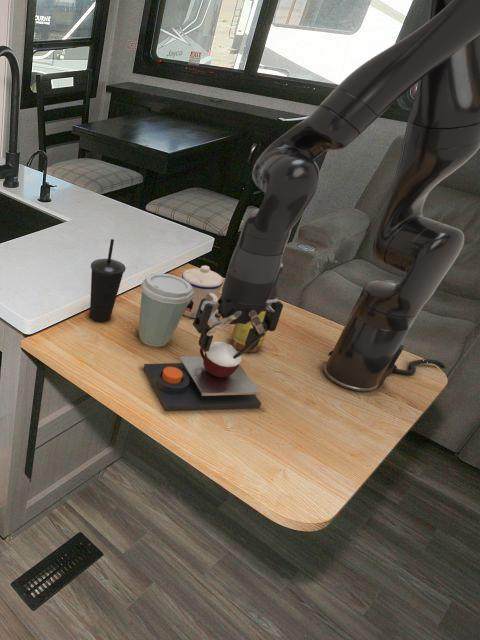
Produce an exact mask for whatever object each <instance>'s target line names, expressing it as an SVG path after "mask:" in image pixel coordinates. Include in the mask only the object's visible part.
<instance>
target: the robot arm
mask: <svg viewBox="0 0 480 640" xmlns="http://www.w3.org/2000/svg"><path fill="white" fill-rule="evenodd" d="M415 85H416V89H415V94H414V97H413V101H412V105H411V108H410V111H409V115H408V119H407V124H406V127H405V132H404V135H403V141H402V146H401V151H400V156H399V160H398V161H399V162H398V165H397V168H396V171H395V176H394V180H393V184H392V187H391V190H390V193H389V196H388V199H387V201H386V205H385V207H384V211H383V213H382V215H381V218H380V220H379V223H378V226H377V229H376V232H375V235H374V238H373V242H372V255H373V256H374V259H376V260H377V261H378V262H379V263H382V264H384V265H386V266H388V267H390V268H393V269H395V270H397V271H400V272H402V273H404V274H405V275H403V278H402V280H401V281H400V280H392V279H391V280H390V279H378V280H372V281H370V282H367V283H366V284H365V285H364V287H363V288H362V290H361V292H360V294H359V296H358V298H357V300H356V302H355V304H354V307H353V308H352V311H351V313H350V314H349V316H348V319H347V320H346V323H345V324H344V327H343V329H342V331H341V333H340V335H339V337H338V339H337V341H336V343H335V345H334V347H333V349H332V350H330V351H329V353H328V355H327V357H328V360H327V362H326V363H325V365H324V366H323V373H324V375H325V376H326V377H327V379H329V380H330V381H331V382H333V383H335V384H336V385H338V386H340V387H342V388H345V389H348V390H350V391H354V392H355V391H357V392H365V393H366V392H372V391H374V390H376V389H377V388H378V387H382V386H383V384H384V383H385V381H386V380H387V378H388V377H390V376H391V374H392V372H393V373H396V374H399V375H413V374H415V373H416V371H417V369H416V367H415V366H416V365H423V364H431V365H436V366H438V367H439V368H441V369H446V368H447V367H446V365H445V363H443V362H442V361H439V360H436V359H430V358H429V359H427V358H424V359H423V358H422V359H416V360H413V361H410V362H409V363H408V368H409V369H400V368H398V366H397V365H396V362H397V361H398V359H399V357H400V355H401V354H402V352H403V351H404V345H403V344H402V343H403V341H404V340H405V338H406V336H407V334H408V333H409V331H410V329H411V327H412V325H413V324H414V322H415V320H416V319H417V317H418V315H419V314H420V312H421V311H422V309H423V307H424V306H425V305H426V304H427V303H428V301H429V300H430V299H431V298H432V296H433V295H434V293H435V292H436V290H437V288H438V287H439V286H440V285H441V282H442V281H443V279H444V277H445V276H446V275H447V273H448V272H449V271H450V270H451V267H452V266H453V264H454V263H455V261H456V260H457V258H458V257H459V255H460V253H461V251H462V249H463V247H464V244H465V235H464V232H463V231H462V230H461V229H459V228H457V227H454V226H451V225H449V224H446V223H443V222H440V221H437V220H435V219H431V218H429V217H426V216H424V215H423V209H424V206H425V202H426V199H427V198H428V195H429V193H430V192H431V191H432V190H433V189H434V188H435V187H436V186H437V185H439V184H440V183H441V182H442V181H443V180H445V179H446V178H447V177H449V176H451V174H453V173H454V172H456V171H457V170H458V169H459V168H461V167H462V166H463V165H464V164H465V163H467V162H468V161H469V160H470V159H471V158H473V156H474V155H475V154H476V153H477V152H478V151H479V149H480V0H430V7H429V16H428V21H427V22H425V23H424V24H423V25H421V26H420V27H419V28H417V29H416V30H414V31H413V32H412V33H410V34H408V35H407V36H405V37H403V38H402V39H401V40H399V41H398V42H396V43H394V44H393V45H390V46H389V47H388V48H386V49H384V50H383V51H381V52H380V53H378V54H376V55H374V56H373V57H372V58H370V59H368V60H367V61H365V62H364V63H362V64H361V65H359V66H358V67H357V68H356V69H354V71H352V72H351V73H350V74H349V75H347V77H345V78H344V80H342V81H341V83H339V84H338V85H337V86H336V87H335V88H334V90H332V91H331V92H330V94H329V95H328V96H327V97H326V98H325V99H324V100H323V101H322V102H321V103H320V104H319V105H318V106H317V107H316V108H315V109H314V111H312V113H311V114H309V116H307V117H306V118H305V119H303V120H301V121H300V122H298V123H297V124H295V125H294V126H292V128H289V130H288V131H286V132H284V134H282V135H280V137H278V138H277V139H275V140H274V141H273V142H272V143H271V144H270V145H268V146H267V147H266V148H265V150H264V151H262V153H261V154H260V155H259V157H258V158H257V160H256V161H255V163H254V164H253V168H252V171H251V173H252V174H251V177H252V181H253V183H254V184H255V186H256V187H257V188H258V189H259V190H260V191H262V192H263V193H264V198H263V200H262V202H261V205H260V206H259V208H256V209H253V210H251V211H250V212H249V213H248V214H247V215H246V217H245V218H244V221H243V224H242V227H241V231H240V234H239V237H238V240H237V243H236V246H235V248H234V250H233V253H232V255H231V258H230V261H229V264H228V268H227V271H226V275H225V278H224V280H223V284H222V286H221V295H220V297H219V298H218V301H208V300H207V299H206V298H204V299H202V300H201V302H200V305H199V308H198V311H197V314H196V316H195V318H193V322H192V326H193V327H194V329H195V331H197V333H198V334H200V336H199V339H198V345H199V347H200V349H201V348H202V350H203V353H206V351H209V348H210V345H211V344H212V343H213V342H212V341H213V339H214V334H216V333H217V332H218V331H219V330H223V329H225V328H226V327H227V326H228V325H235V324H238V323H240V324H247V323H248V322H250V323H251V325H252V327H253V328H250V330H249V333H248V336H247V338H246V341H245V346H246V345H247V344H248V343H249V342H251V341H252V340H253V339H254V338H255V337H256V336H257V335H259V334H261V333H265V332H266V331H267V332H275V331H276V329H277V326H278V323H279V320H280V317H281V314H282V311H283V308H284V304H283V303H282V302H281V300H279V298H278V297H277V298H276V297H271V298H270V299H269V296H270V294H271V291H272V288H273V286H274V283H275V280H276V277H277V274H278V272H279V269H280V266H281V263H282V264H283V257H284V254H285V250H286V247H287V245H288V243H289V242H288V241H289V239H290V237H291V234H292V230H293V228H294V227H295V225H296V224H297V223H298V221H300V219H301V217H302V216H303V214H304V213H305V211H306V210H307V208H308V206H309V205H310V203H311V202H312V200H313V199H314V197H315V195H316V194H317V190H318V187H319V183H320V176H321V175H320V169H319V166H318V164H317V162H316V161H315V159H317V158H318V157H320V156H321V155H323V154H324V153H325V152H327V151H340V150H343V149H345V148H347V147H349V146H350V145H351V144H352V143H354V141H356V140H357V139H358V138H359V137H360V135H362V134H363V133H364V132H365V131H366V130H367V129H368V128H369V127H370V126H371V125H372V124H373V123H374V122H376V120H377V119H379V118H380V117H381V116H382V115H383V114H384V113H385V112H386V111H387V110H388V109H389V108H390V107H391V106H393V104H395V102H396V101H398V100H399V99H400V98H401V97H403V95H405V94H406V93H407V91H409V90H410V89H412V88H413V87H414V86H415ZM268 299H269V300H268ZM265 308H266V313H265V316H264V319H263V322H261V321H260V319H259V317H258V315H259V314H260V313H261V312H262V311H263V310H264V309H265ZM215 309H216V310H215ZM214 310H215V312H214ZM220 317H221V318H222V320H220ZM267 332H266V333H267ZM259 341H260V339H259V340H258V341H257V342H256V343H255V344H253V345H252V346H251V347H250V348H249V349H248V350H254V348H255V347H257V346H258V343H259ZM423 360H424V361H423ZM427 362H428V363H427Z"/></svg>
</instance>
